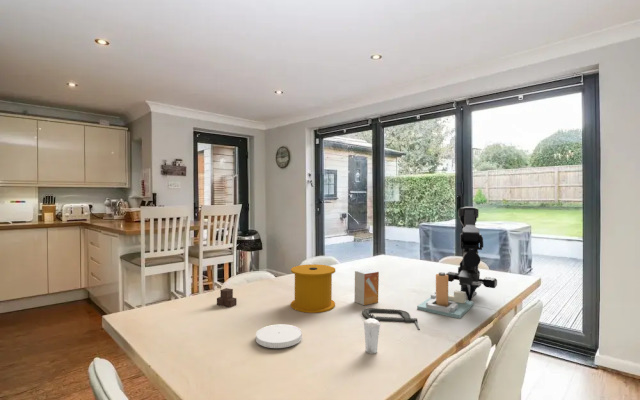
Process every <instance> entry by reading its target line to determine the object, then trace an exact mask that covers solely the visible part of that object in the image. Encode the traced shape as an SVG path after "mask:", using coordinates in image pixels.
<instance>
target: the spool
mask: <svg viewBox="0 0 640 400" xmlns="http://www.w3.org/2000/svg"><path fill="white" fill-rule="evenodd" d="M290 272H291V273H292V274H294V300H292V301H291V302H290V307H291V309H293V310H294V311H297V312H301V313H307V314H308V313H311V314H315V313H316V314H318V313H325V312H326V313H327V312H329V311H331V310H333V309H334V308H336V302H335V301H334V300H333V299H332V298H333V297H332V295H333V293H332V292H333V291H332V290H333V289H332V285H333V284H332V283H333V282H332V279H333V276H332V275H333V274H335V273H336V268H335V267H334V266H331V265H326V264H315V263H314V264H300V265H296V266H293V267H291V269H290Z"/></svg>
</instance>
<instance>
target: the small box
mask: <svg viewBox="0 0 640 400" xmlns="http://www.w3.org/2000/svg"><path fill="white" fill-rule="evenodd" d="M379 275H380V272H379V271H377V270H373V269H371V268H367V269H360V270H355V271H354V302H355V303H357V304H359V305H363V306H367V305H368V306H369V305H372V304H377V303H379V285H380V284H379V280H380V279H379V278H380V277H379Z"/></svg>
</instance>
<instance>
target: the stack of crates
mask: <svg viewBox="0 0 640 400" xmlns="http://www.w3.org/2000/svg"><path fill="white" fill-rule="evenodd" d="M233 296H234V289H233V288H227V287H225V288H223V289H222V288H221V289H220V296H218V297H217V298H216V305H217V306H220V307H221V306H222V307H224V308H225V307H226V308H234V307H235V306H237V297H233Z"/></svg>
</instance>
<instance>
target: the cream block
mask: <svg viewBox="0 0 640 400" xmlns="http://www.w3.org/2000/svg"><path fill="white" fill-rule="evenodd" d="M448 300H451V301H454V302H458V303H463V304H464V303H466V300H467V295H466V292H462V291H461V290H457V289H456V290H455V291H454V292H453V295H451V294H448Z"/></svg>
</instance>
